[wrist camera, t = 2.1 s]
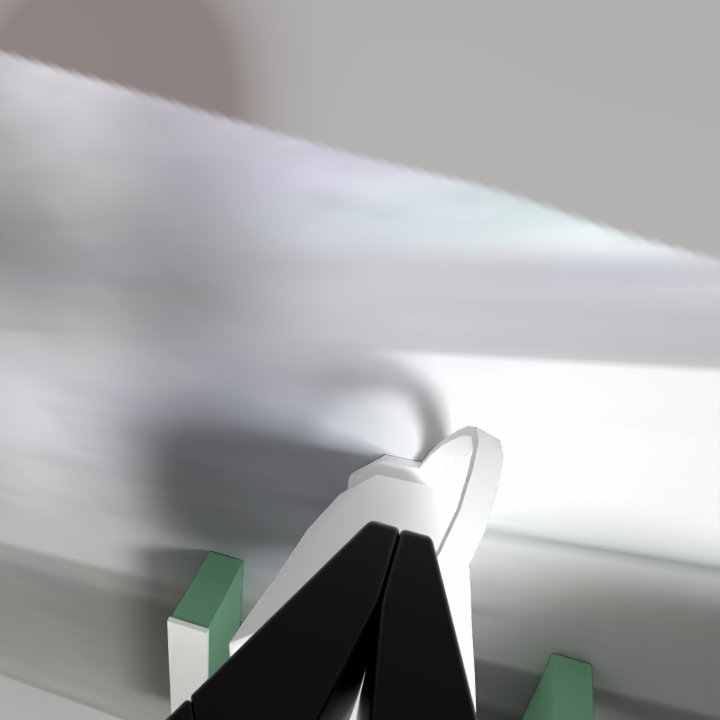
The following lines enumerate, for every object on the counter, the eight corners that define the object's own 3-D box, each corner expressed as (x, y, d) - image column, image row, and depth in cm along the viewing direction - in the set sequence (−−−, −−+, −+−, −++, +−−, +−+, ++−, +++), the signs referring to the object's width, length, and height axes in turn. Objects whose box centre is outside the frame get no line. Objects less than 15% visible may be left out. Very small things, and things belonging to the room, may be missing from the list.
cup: (283, 513, 26) (189, 704, 19) (402, 321, 21) (327, 495, 14) (439, 599, 26) (399, 817, 20) (597, 433, 21) (616, 657, 14)
